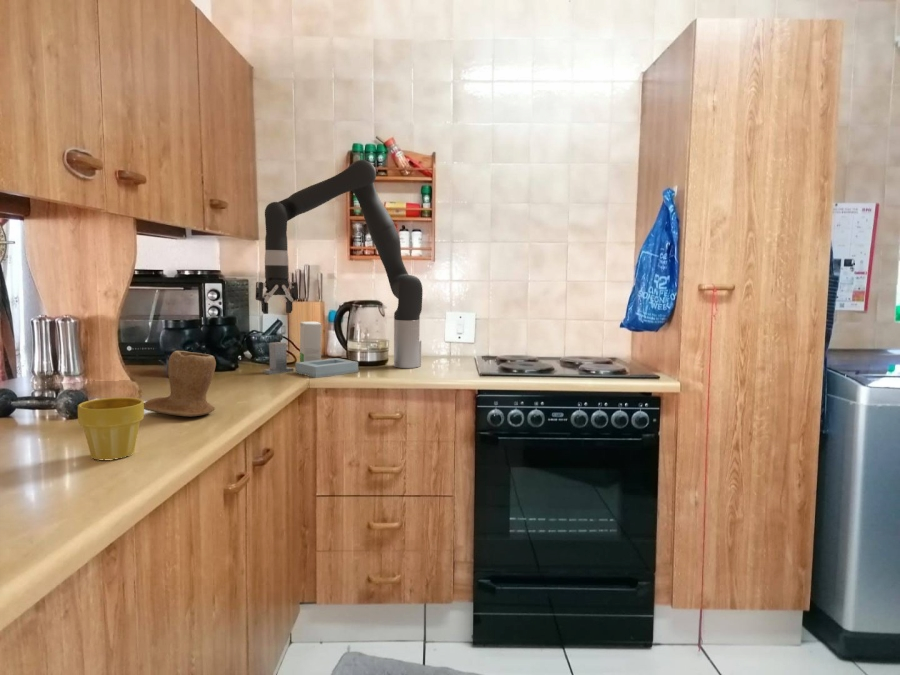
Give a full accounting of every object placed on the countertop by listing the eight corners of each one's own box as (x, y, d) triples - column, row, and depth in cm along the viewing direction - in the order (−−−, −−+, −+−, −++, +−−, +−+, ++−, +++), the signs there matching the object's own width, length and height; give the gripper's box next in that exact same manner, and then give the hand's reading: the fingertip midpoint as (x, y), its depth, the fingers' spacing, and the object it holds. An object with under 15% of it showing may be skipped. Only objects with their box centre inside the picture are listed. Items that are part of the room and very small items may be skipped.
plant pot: (158, 448, 110) (156, 398, 108) (118, 466, 99) (116, 410, 98) (109, 445, 111) (107, 395, 110) (65, 462, 101) (62, 407, 100)
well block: (337, 367, 207) (337, 358, 206) (358, 371, 199) (358, 361, 198) (295, 373, 195) (295, 362, 194) (315, 377, 186) (315, 367, 186)
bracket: (287, 370, 200) (286, 341, 199) (293, 371, 197) (292, 342, 196) (263, 373, 194) (262, 343, 192) (269, 374, 191) (268, 344, 190)
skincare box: (299, 363, 216) (299, 321, 215) (317, 362, 219) (317, 321, 217) (304, 366, 209) (303, 323, 207) (322, 365, 211) (322, 322, 210)
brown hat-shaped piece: (228, 412, 139) (226, 350, 138) (188, 423, 128) (186, 356, 127) (181, 405, 145) (179, 346, 144) (139, 415, 134) (137, 351, 133)
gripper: (262, 263, 184) (263, 314, 186) (301, 264, 194) (302, 313, 196) (250, 263, 189) (251, 313, 191) (289, 264, 199) (290, 312, 201)
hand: (277, 313), depth 193 cm, fingers open, 8 cm apart
